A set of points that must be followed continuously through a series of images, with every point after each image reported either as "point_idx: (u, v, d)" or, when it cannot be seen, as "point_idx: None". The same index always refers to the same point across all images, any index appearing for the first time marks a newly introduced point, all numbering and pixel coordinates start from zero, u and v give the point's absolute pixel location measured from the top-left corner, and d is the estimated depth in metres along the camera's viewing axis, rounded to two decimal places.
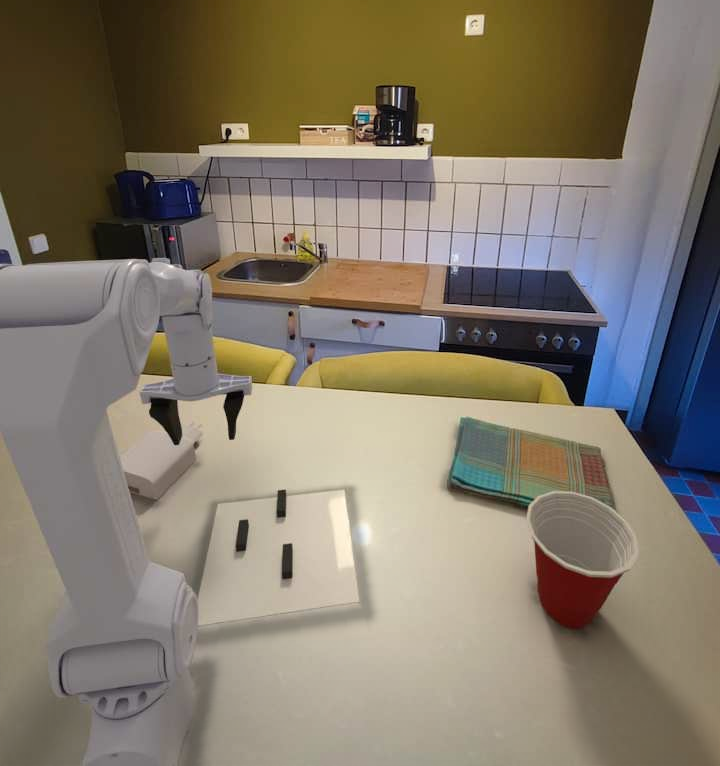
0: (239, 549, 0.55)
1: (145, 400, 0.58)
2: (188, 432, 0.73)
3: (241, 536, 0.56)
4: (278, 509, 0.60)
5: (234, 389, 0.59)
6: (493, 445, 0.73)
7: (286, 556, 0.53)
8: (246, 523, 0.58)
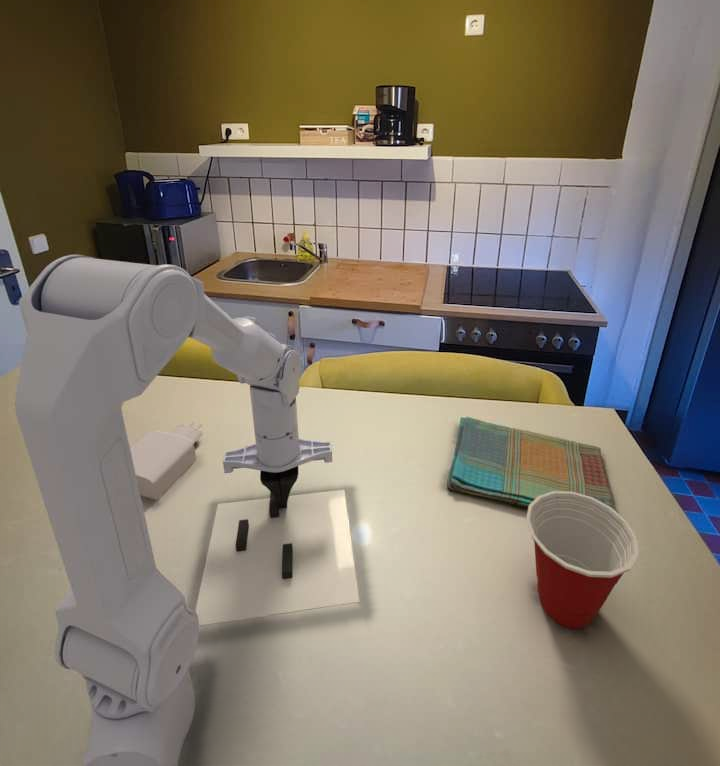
0: (239, 549, 0.55)
1: (227, 470, 0.57)
2: (188, 432, 0.73)
3: (241, 536, 0.56)
4: (271, 510, 0.60)
5: (316, 457, 0.58)
6: (493, 445, 0.73)
7: (286, 556, 0.53)
8: (246, 523, 0.58)
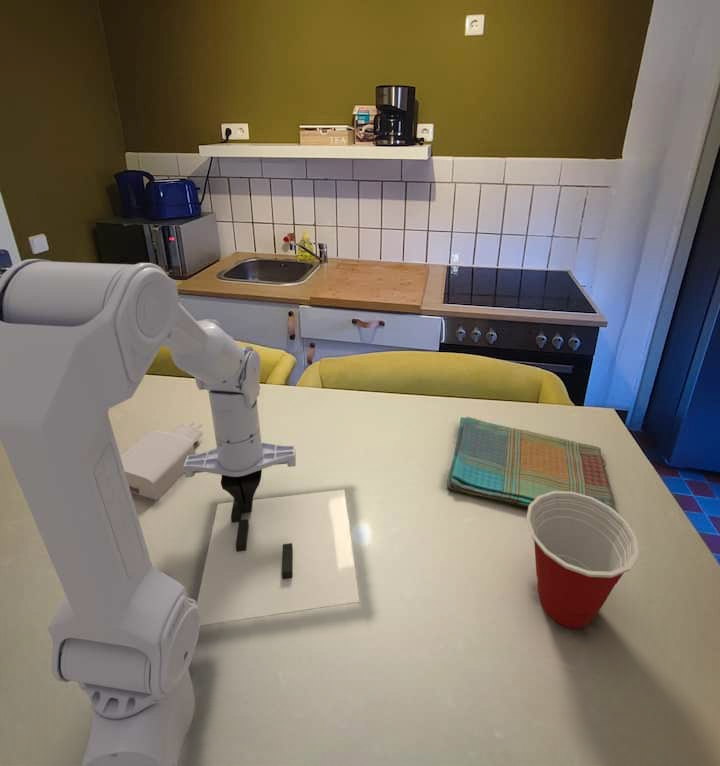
0: (239, 549, 0.55)
1: (188, 474, 0.57)
2: (188, 432, 0.73)
3: (241, 536, 0.56)
4: (232, 514, 0.59)
5: (279, 461, 0.57)
6: (493, 445, 0.73)
7: (286, 556, 0.53)
8: (246, 523, 0.58)
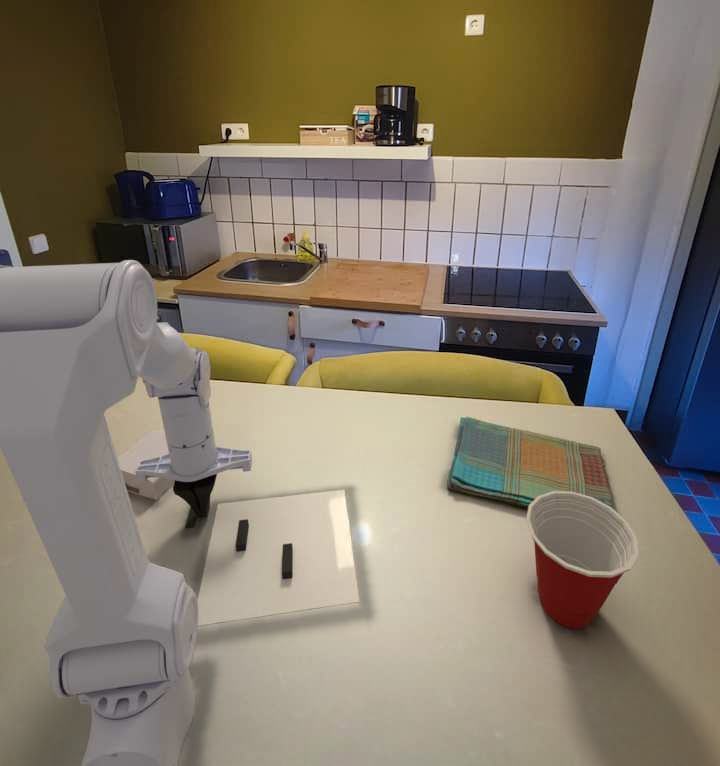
0: (239, 549, 0.55)
1: (140, 479, 0.56)
2: None
3: (241, 536, 0.56)
4: None
5: (233, 466, 0.57)
6: (493, 445, 0.73)
7: (286, 556, 0.53)
8: (246, 523, 0.58)
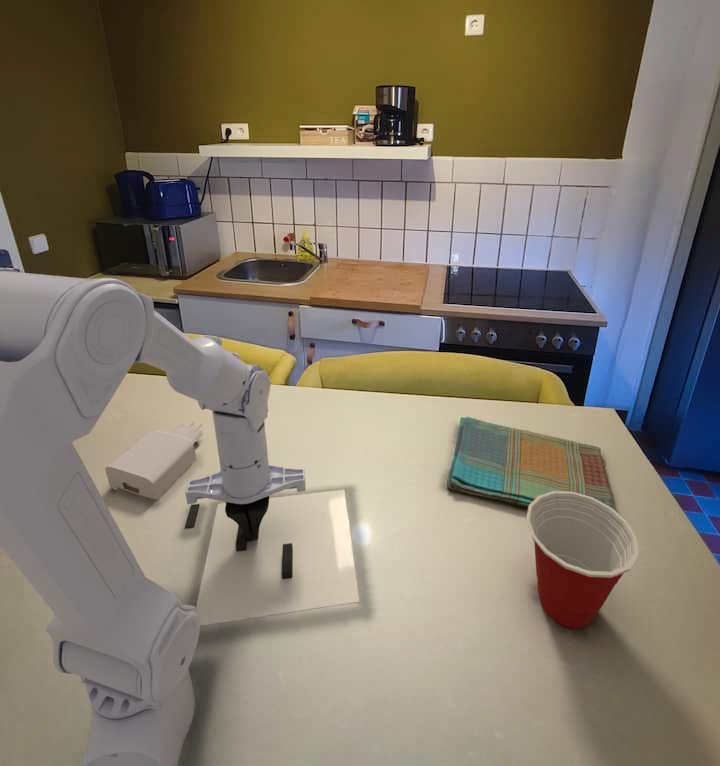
0: (239, 549, 0.55)
1: (190, 500, 0.52)
2: (188, 432, 0.73)
3: (241, 536, 0.56)
4: None
5: (288, 487, 0.53)
6: (493, 445, 0.73)
7: (286, 556, 0.53)
8: None
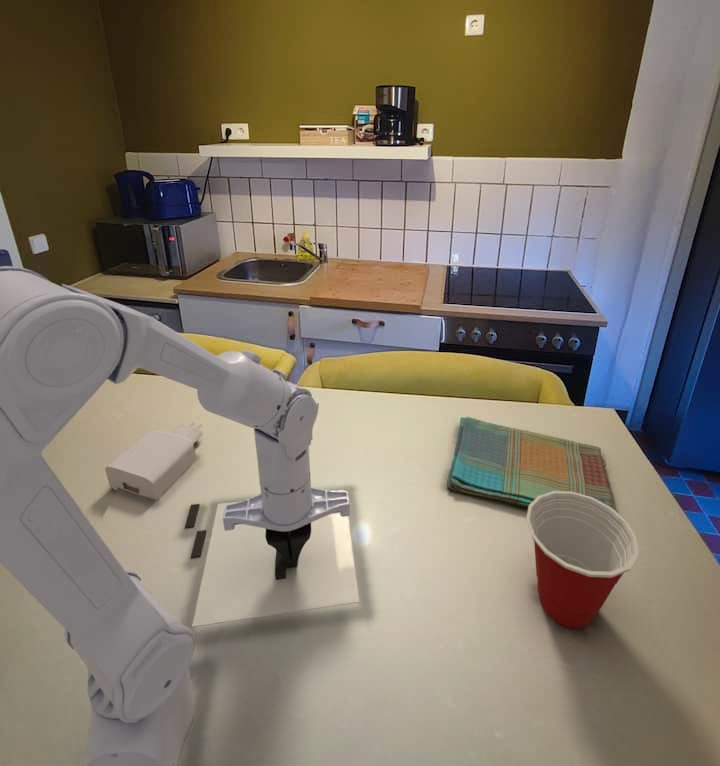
0: None
1: (228, 527, 0.49)
2: (188, 432, 0.73)
3: None
4: None
5: (332, 512, 0.50)
6: (493, 445, 0.73)
7: (279, 557, 0.53)
8: (196, 536, 0.57)
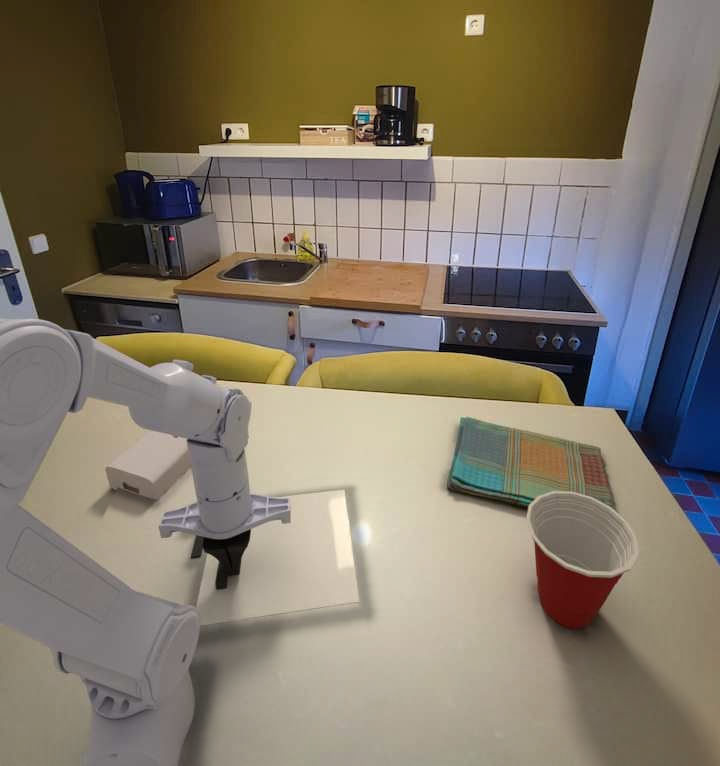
0: None
1: (164, 534, 0.48)
2: None
3: None
4: None
5: (271, 519, 0.49)
6: (493, 445, 0.73)
7: (222, 566, 0.52)
8: (196, 536, 0.57)
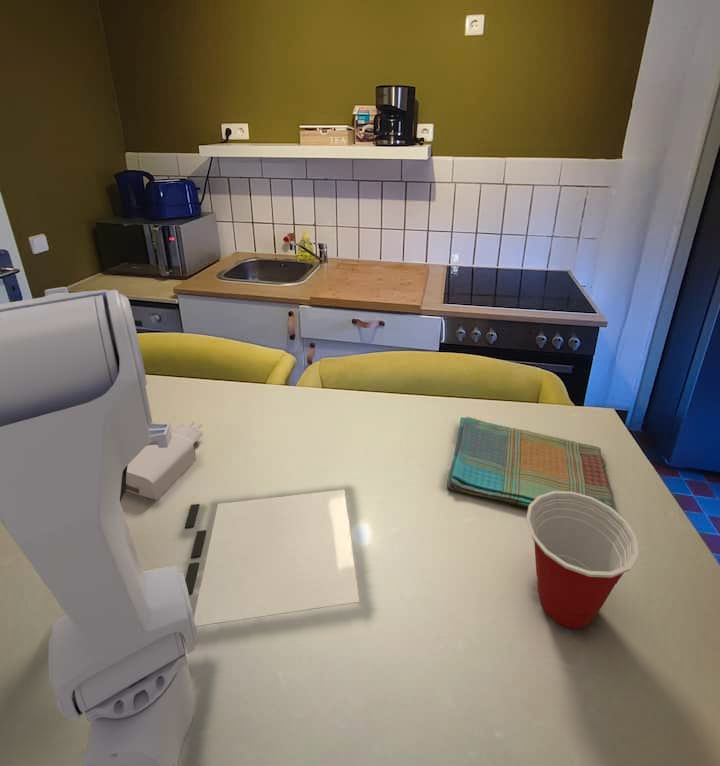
0: None
1: None
2: (188, 432, 0.73)
3: None
4: None
5: None
6: (493, 445, 0.73)
7: None
8: (196, 536, 0.57)
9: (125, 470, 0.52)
